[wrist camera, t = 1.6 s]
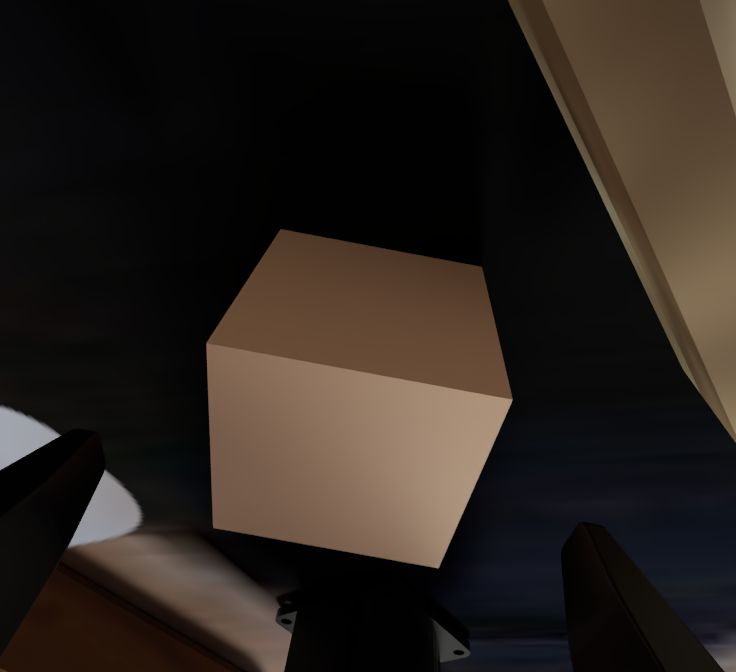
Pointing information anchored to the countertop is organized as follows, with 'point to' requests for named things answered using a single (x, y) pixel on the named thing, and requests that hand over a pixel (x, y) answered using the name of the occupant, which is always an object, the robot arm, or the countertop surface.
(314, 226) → the countertop surface
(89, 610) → the diary
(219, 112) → the countertop surface
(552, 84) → the arena
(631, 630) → the robot arm
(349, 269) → the cube
